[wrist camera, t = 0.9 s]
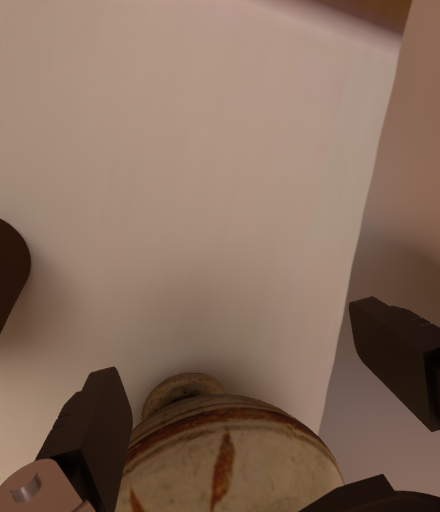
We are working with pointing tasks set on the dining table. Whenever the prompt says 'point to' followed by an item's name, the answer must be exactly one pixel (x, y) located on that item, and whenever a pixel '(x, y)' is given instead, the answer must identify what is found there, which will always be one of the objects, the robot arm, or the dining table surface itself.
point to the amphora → (221, 454)
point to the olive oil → (11, 269)
